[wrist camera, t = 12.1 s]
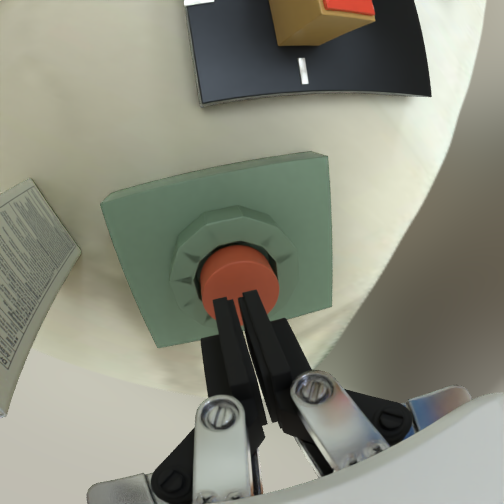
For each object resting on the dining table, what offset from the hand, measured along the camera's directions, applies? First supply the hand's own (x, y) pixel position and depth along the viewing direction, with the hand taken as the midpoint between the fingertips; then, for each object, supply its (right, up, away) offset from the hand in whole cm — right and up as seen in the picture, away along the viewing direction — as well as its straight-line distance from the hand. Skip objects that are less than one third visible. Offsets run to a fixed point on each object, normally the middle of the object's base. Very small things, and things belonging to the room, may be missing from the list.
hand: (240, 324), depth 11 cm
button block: (-1, +3, +7) cm, 8 cm away
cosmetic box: (-13, +4, +4) cm, 14 cm away
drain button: (0, +2, +4) cm, 4 cm away
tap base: (+4, +17, +1) cm, 17 cm away
